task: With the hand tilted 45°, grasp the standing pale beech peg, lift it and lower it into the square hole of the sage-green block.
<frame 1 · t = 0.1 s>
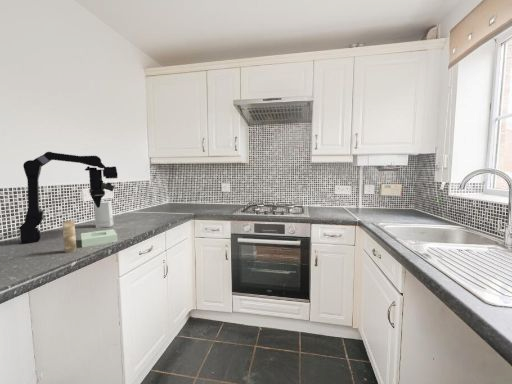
hand: (97, 206, 131), 15 cm above the worktop, tool pointing down, fingers open, 9 cm apart
skincare box: (104, 226, 146), on the worktop
hole block: (99, 240, 115), on the worktop
beech peg: (70, 251, 101), on the worktop
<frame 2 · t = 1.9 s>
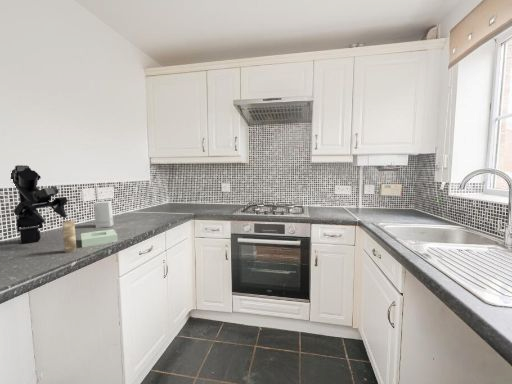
hand: (55, 219, 102), 13 cm above the worktop, tool tilted 45°, fingers open, 9 cm apart
nothing on the worktop moved.
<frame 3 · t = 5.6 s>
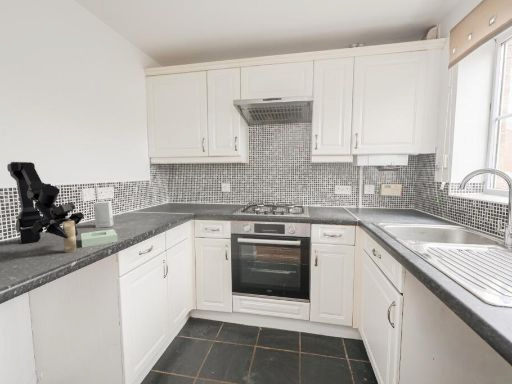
hand: (72, 236, 100), 7 cm above the worktop, tool tilted 45°, fingers closed on beech peg, 4 cm apart
beech peg: (70, 251, 101), on the worktop, touching gripper
everything else where it was.
when the fingers open (8 cm above the worktop, at t = 10.5 s): beech peg drops 1 cm, resting in hole block.
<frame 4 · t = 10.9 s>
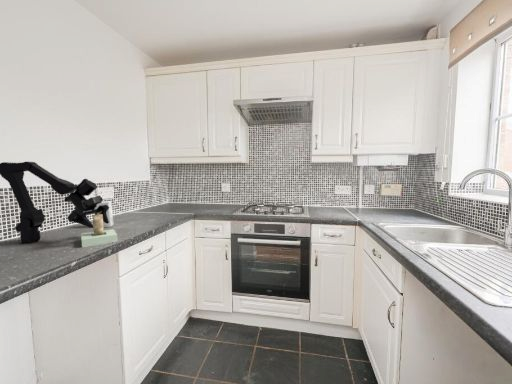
hand: (100, 225, 114), 8 cm above the worktop, tool tilted 45°, fingers open, 9 cm apart
beech peg: (99, 240, 115), resting in hole block
everything else where it was.
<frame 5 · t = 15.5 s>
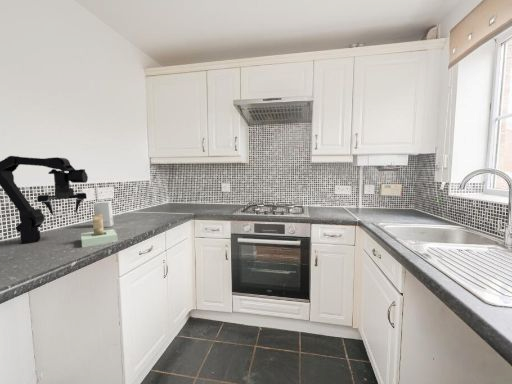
hand: (64, 214, 117), 13 cm above the worktop, tool pointing down, fingers open, 9 cm apart
nothing on the worktop moved.
at the end: beech peg 0.0 cm off-centre on the hole block, point 0.0 cm above the hole block's base; beech peg tilted 0°; the gripper is holding nothing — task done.
